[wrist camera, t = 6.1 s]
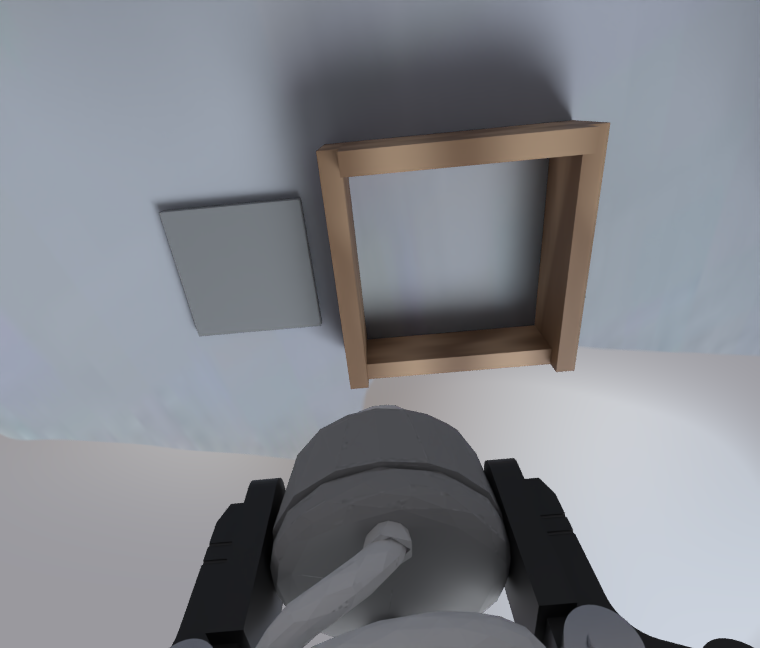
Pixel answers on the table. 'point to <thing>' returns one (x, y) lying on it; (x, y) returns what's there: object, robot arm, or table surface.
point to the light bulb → (390, 540)
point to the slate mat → (244, 266)
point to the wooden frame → (558, 252)
